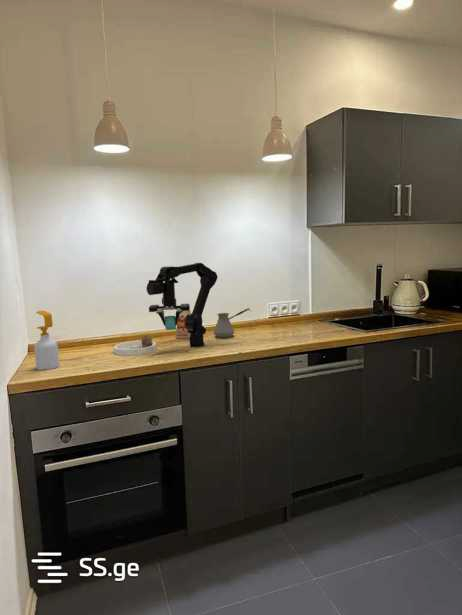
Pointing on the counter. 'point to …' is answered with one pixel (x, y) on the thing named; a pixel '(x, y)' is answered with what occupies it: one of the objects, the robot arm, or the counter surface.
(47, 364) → the soap bottle
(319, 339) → the counter surface
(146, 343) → the walnut bead
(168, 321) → the teal bead
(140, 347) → the dish
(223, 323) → the coffee pot
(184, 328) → the red figurine
